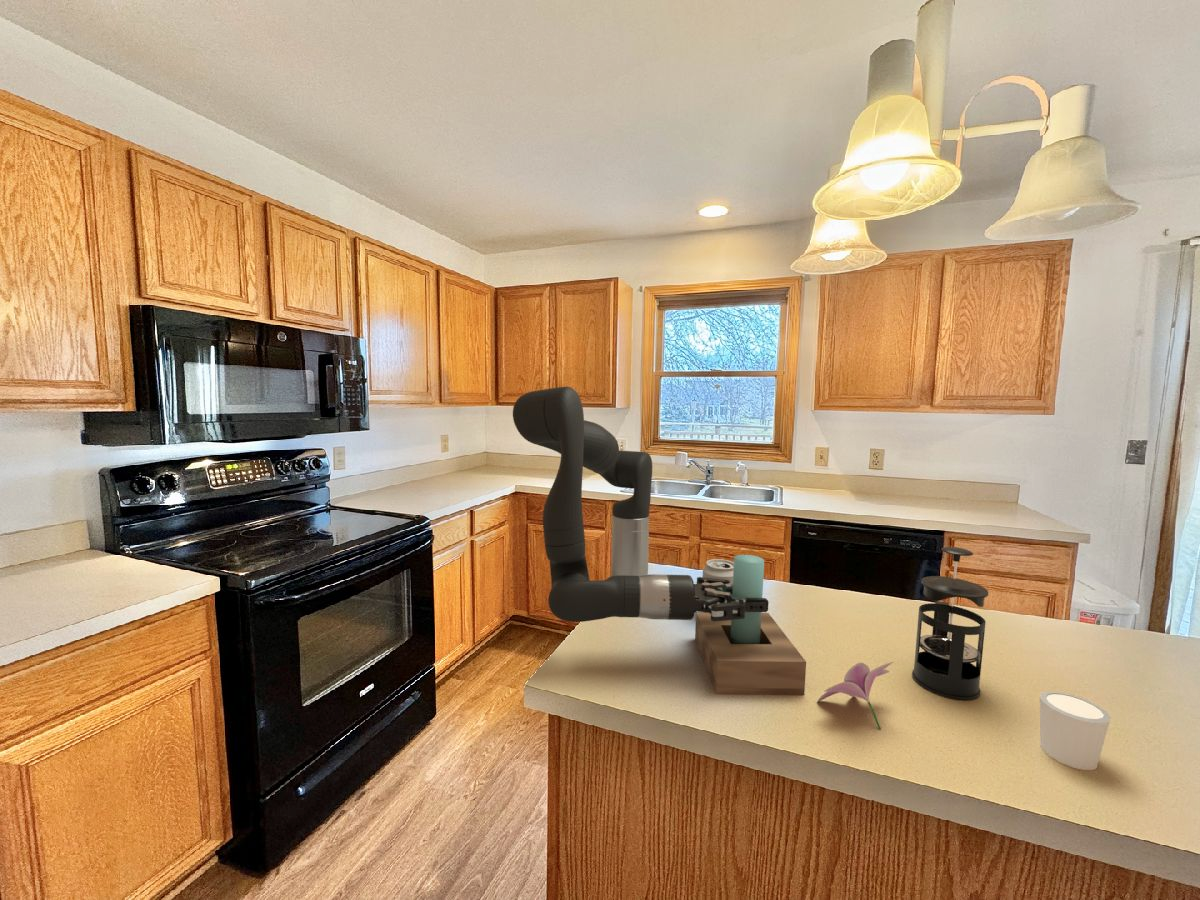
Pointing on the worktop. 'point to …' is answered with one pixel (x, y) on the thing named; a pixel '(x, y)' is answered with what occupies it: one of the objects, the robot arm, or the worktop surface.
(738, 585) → the peg
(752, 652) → the well block
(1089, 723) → the white cylinder
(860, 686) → the lily
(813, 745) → the worktop surface
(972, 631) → the french press
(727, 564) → the can
